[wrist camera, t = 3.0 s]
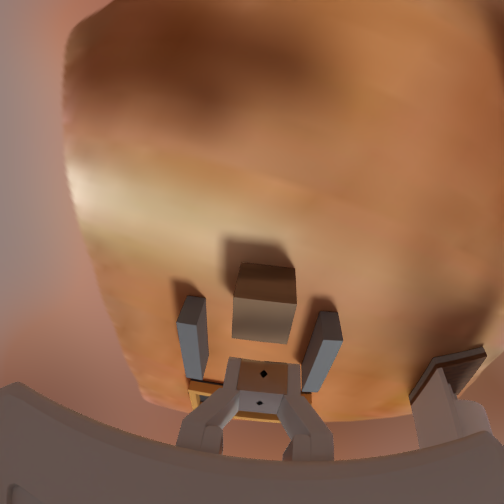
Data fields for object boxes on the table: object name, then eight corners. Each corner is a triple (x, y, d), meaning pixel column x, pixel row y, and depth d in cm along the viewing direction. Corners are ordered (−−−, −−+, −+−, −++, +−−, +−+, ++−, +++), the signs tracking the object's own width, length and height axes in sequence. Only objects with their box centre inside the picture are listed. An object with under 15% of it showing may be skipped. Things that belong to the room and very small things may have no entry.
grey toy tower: (455, 385, 36) (484, 544, 7) (408, 396, 38) (427, 572, 8) (482, 346, 30) (531, 531, 1) (433, 357, 32) (470, 572, 2)
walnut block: (241, 261, 26) (233, 297, 22) (295, 267, 26) (296, 304, 22) (238, 301, 29) (231, 338, 24) (287, 307, 28) (286, 344, 24)
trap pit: (191, 378, 38) (188, 389, 36) (311, 392, 37) (311, 403, 35) (195, 401, 42) (193, 411, 40) (300, 413, 41) (300, 423, 40)
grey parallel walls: (187, 295, 29) (176, 322, 25) (337, 312, 28) (343, 340, 25) (193, 352, 34) (186, 377, 31) (316, 366, 33) (317, 392, 30)
